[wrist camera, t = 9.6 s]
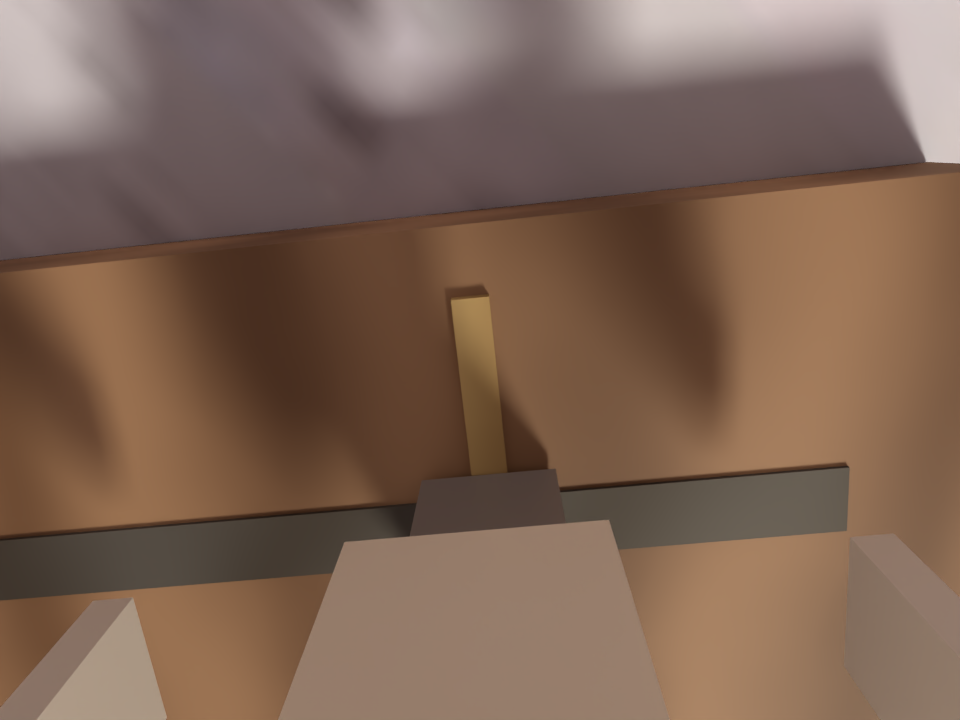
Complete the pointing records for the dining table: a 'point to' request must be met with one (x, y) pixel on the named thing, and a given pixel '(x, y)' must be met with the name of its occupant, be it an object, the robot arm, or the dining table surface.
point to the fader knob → (480, 616)
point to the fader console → (493, 421)
